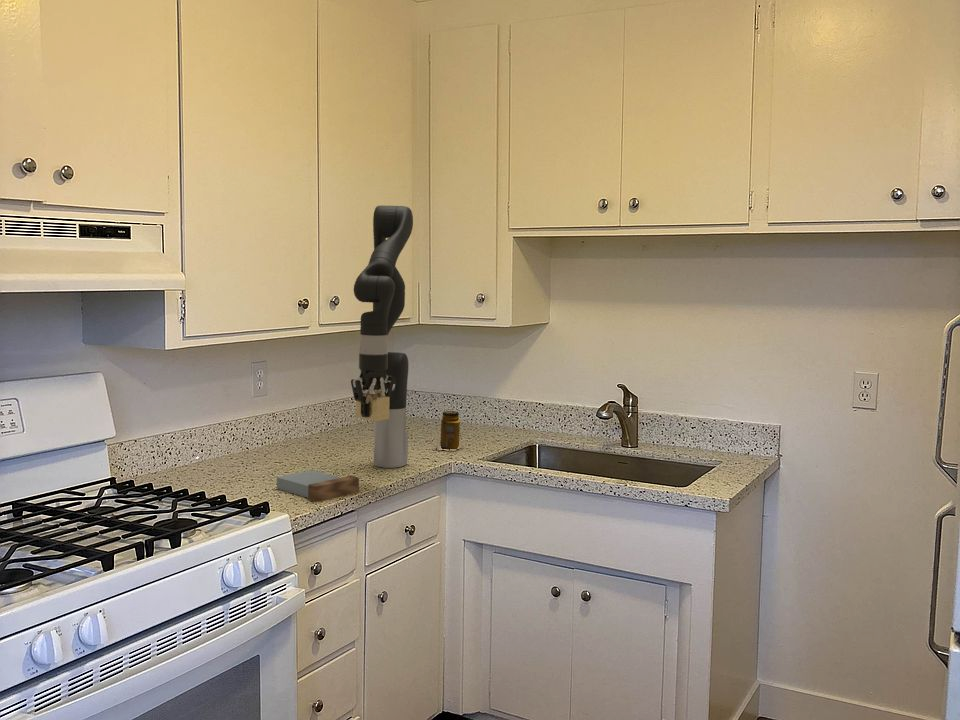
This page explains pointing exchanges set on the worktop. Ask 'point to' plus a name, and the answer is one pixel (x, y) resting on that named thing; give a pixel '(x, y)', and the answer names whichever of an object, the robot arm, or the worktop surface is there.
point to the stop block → (333, 488)
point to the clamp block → (375, 408)
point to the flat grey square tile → (302, 481)
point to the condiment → (450, 430)
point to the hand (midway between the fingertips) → (372, 415)
